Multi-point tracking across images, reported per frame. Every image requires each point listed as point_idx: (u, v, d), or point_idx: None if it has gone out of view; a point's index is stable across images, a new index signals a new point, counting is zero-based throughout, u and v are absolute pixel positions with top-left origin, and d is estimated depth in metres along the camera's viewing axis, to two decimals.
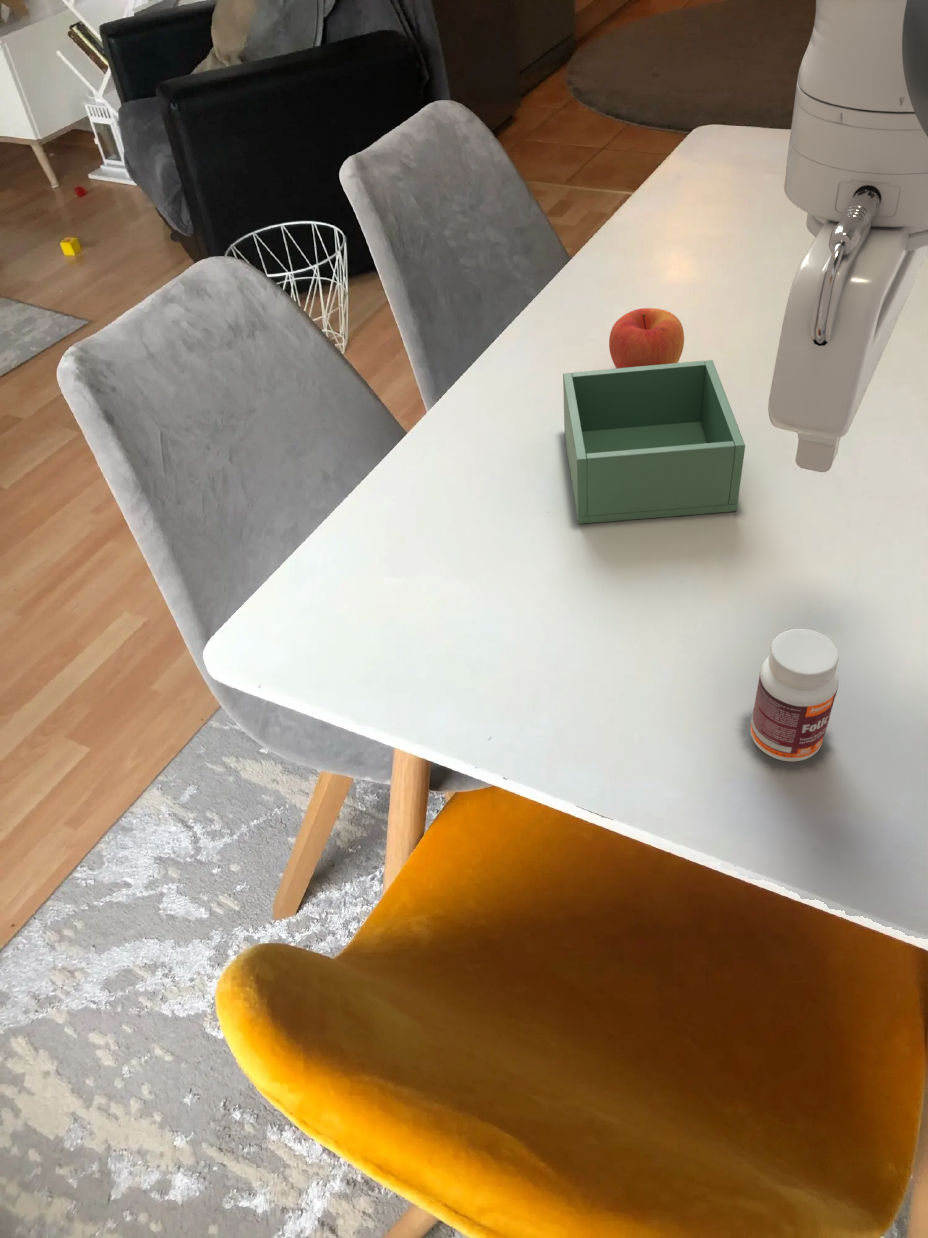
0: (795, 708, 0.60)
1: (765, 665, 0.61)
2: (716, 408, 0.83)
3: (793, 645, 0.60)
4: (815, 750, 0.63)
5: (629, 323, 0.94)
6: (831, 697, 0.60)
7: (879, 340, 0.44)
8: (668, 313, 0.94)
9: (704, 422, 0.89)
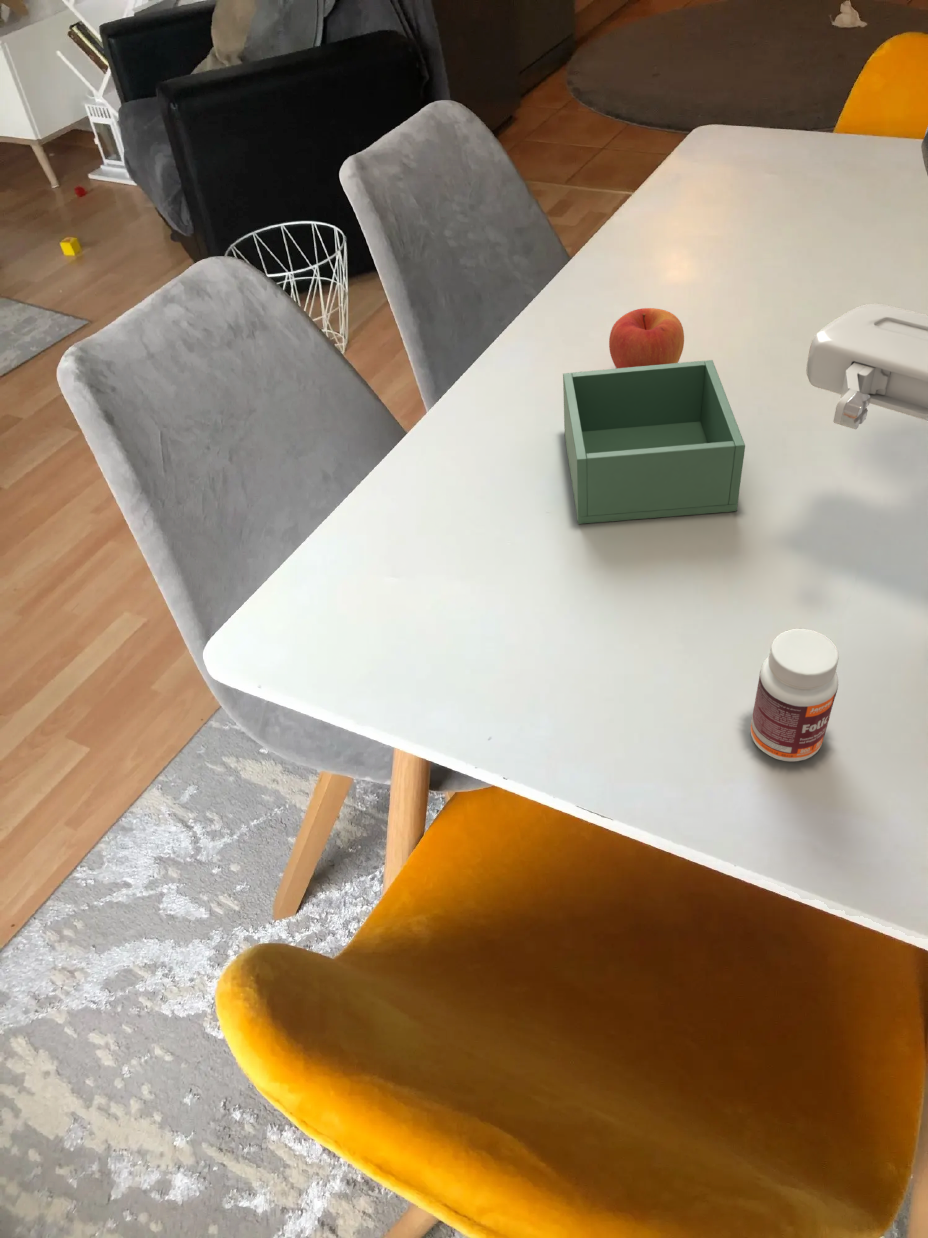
0: (795, 708, 0.60)
1: (765, 665, 0.61)
2: (716, 408, 0.83)
3: (793, 645, 0.60)
4: (815, 750, 0.63)
5: (629, 323, 0.94)
6: (831, 697, 0.60)
7: (897, 340, 0.64)
8: (668, 313, 0.94)
9: (704, 422, 0.89)
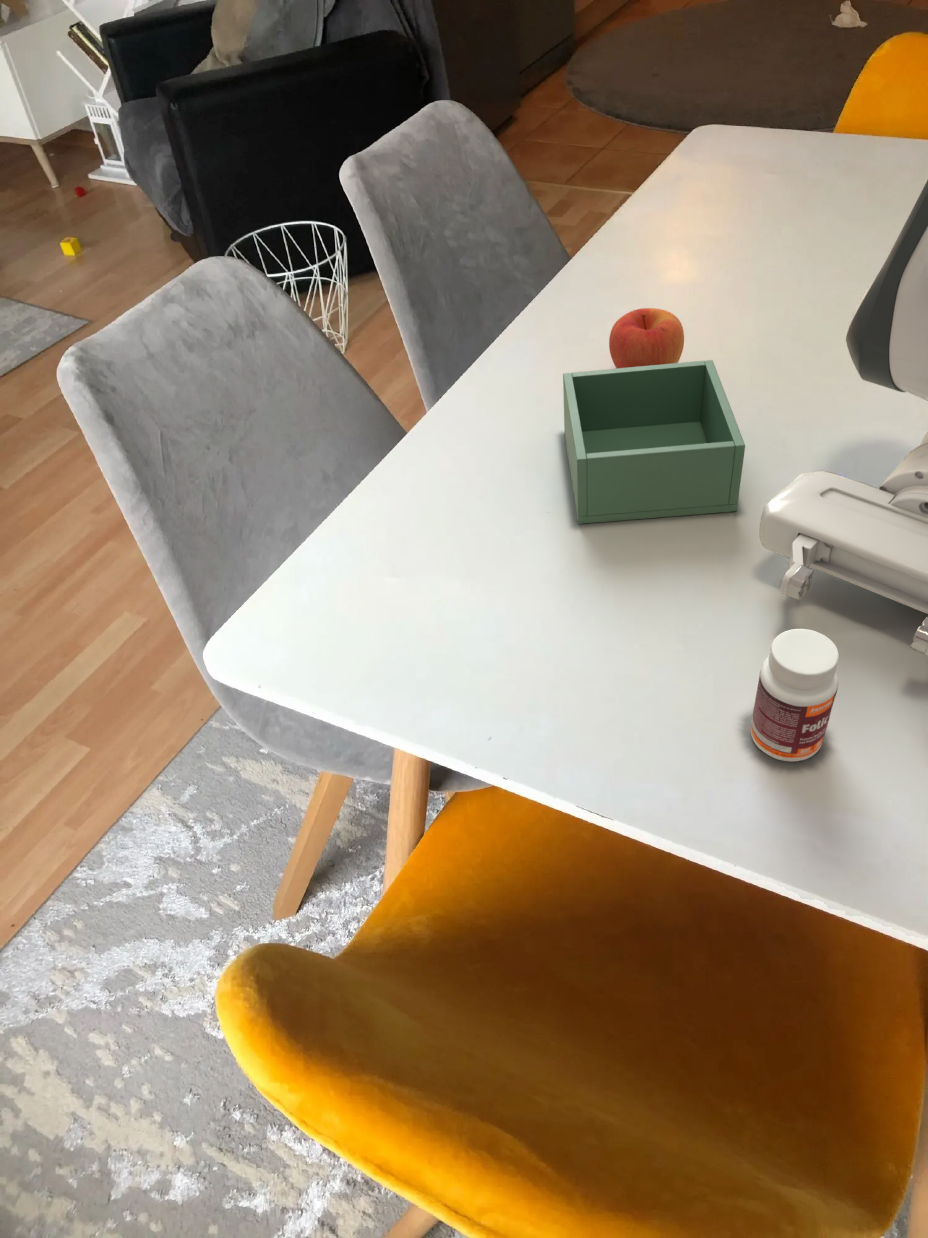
0: (795, 708, 0.60)
1: (765, 665, 0.61)
2: (716, 408, 0.83)
3: (793, 645, 0.60)
4: (815, 750, 0.63)
5: (629, 323, 0.94)
6: (831, 697, 0.60)
7: (839, 514, 0.70)
8: (668, 313, 0.94)
9: (704, 422, 0.89)
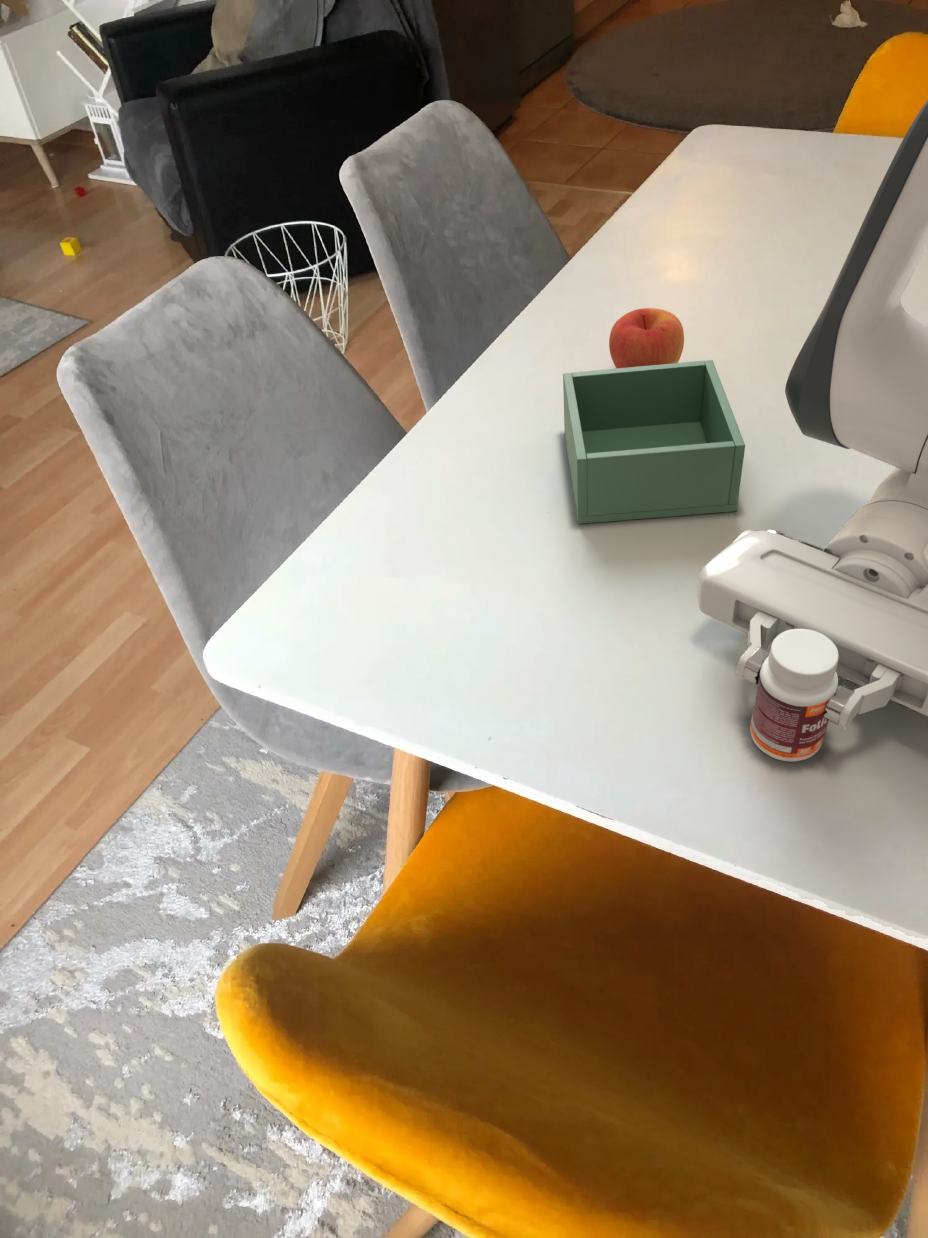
0: (795, 708, 0.60)
1: (765, 665, 0.61)
2: (716, 408, 0.83)
3: (793, 645, 0.60)
4: (814, 750, 0.63)
5: (629, 323, 0.94)
6: None
7: (779, 580, 0.66)
8: (668, 313, 0.94)
9: (704, 422, 0.89)
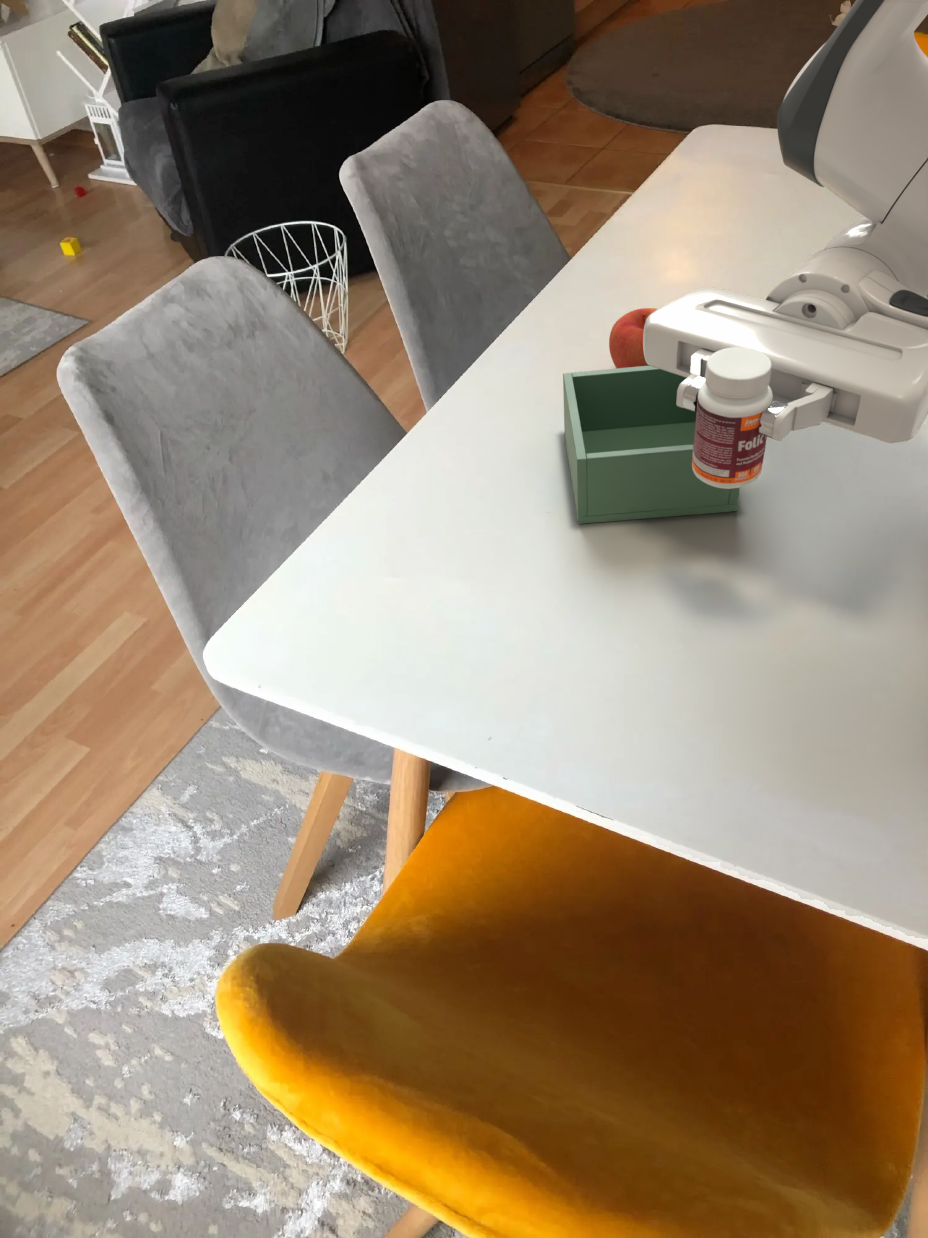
0: (730, 420, 0.61)
1: (702, 385, 0.63)
2: None
3: (728, 359, 0.61)
4: (753, 476, 0.65)
5: (629, 323, 0.94)
6: (765, 409, 0.61)
7: (720, 321, 0.68)
8: None
9: None
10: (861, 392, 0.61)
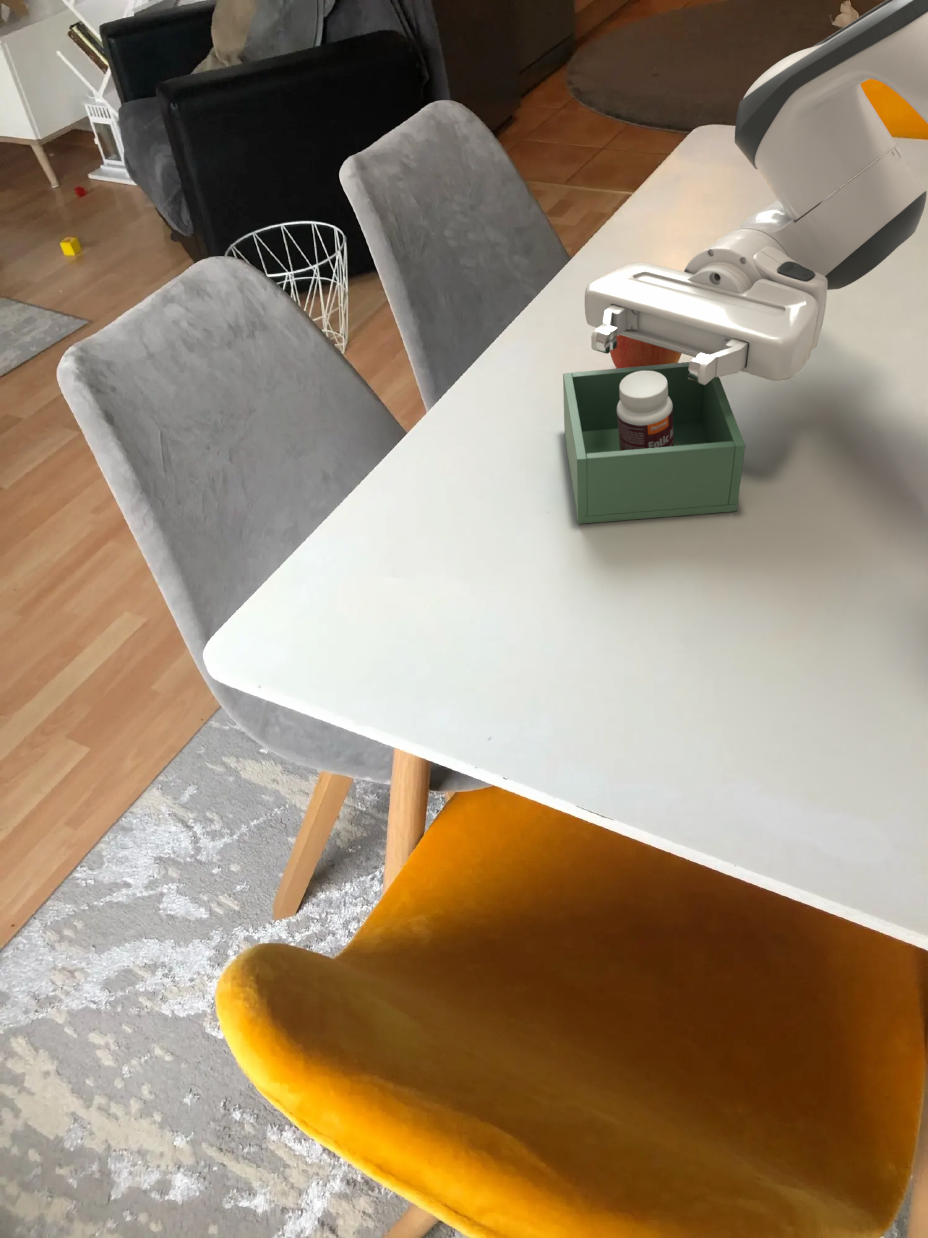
0: (639, 427, 0.81)
1: (619, 401, 0.83)
2: (716, 408, 0.83)
3: (635, 381, 0.81)
4: None
5: None
6: (665, 417, 0.81)
7: (645, 287, 0.84)
8: None
9: (704, 422, 0.89)
10: (749, 339, 0.76)
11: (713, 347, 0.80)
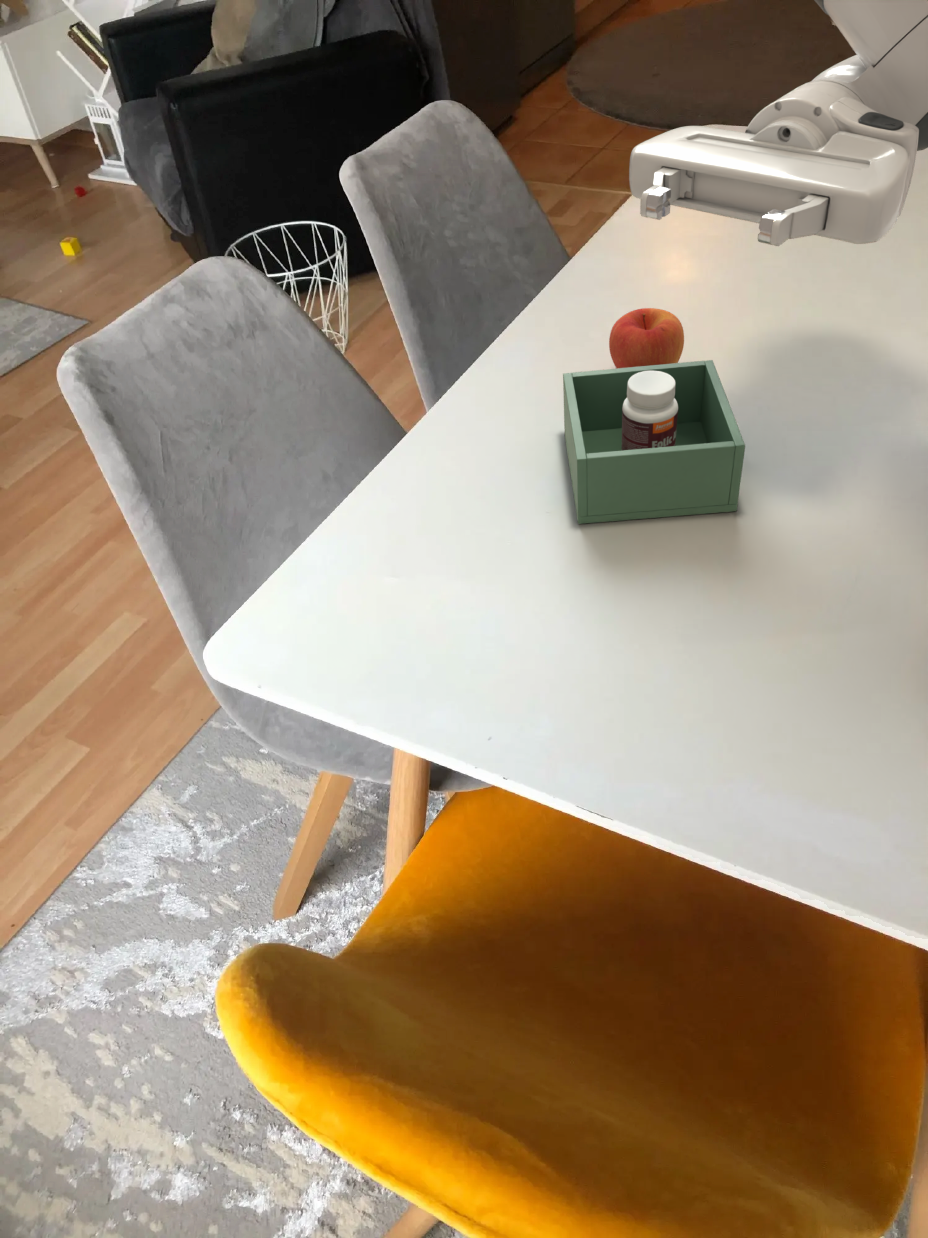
0: (645, 425, 0.81)
1: (625, 399, 0.83)
2: (716, 408, 0.83)
3: (643, 379, 0.81)
4: None
5: (629, 323, 0.94)
6: (671, 417, 0.81)
7: (701, 147, 0.72)
8: (668, 313, 0.94)
9: (704, 422, 0.89)
10: (830, 193, 0.65)
11: (784, 209, 0.68)
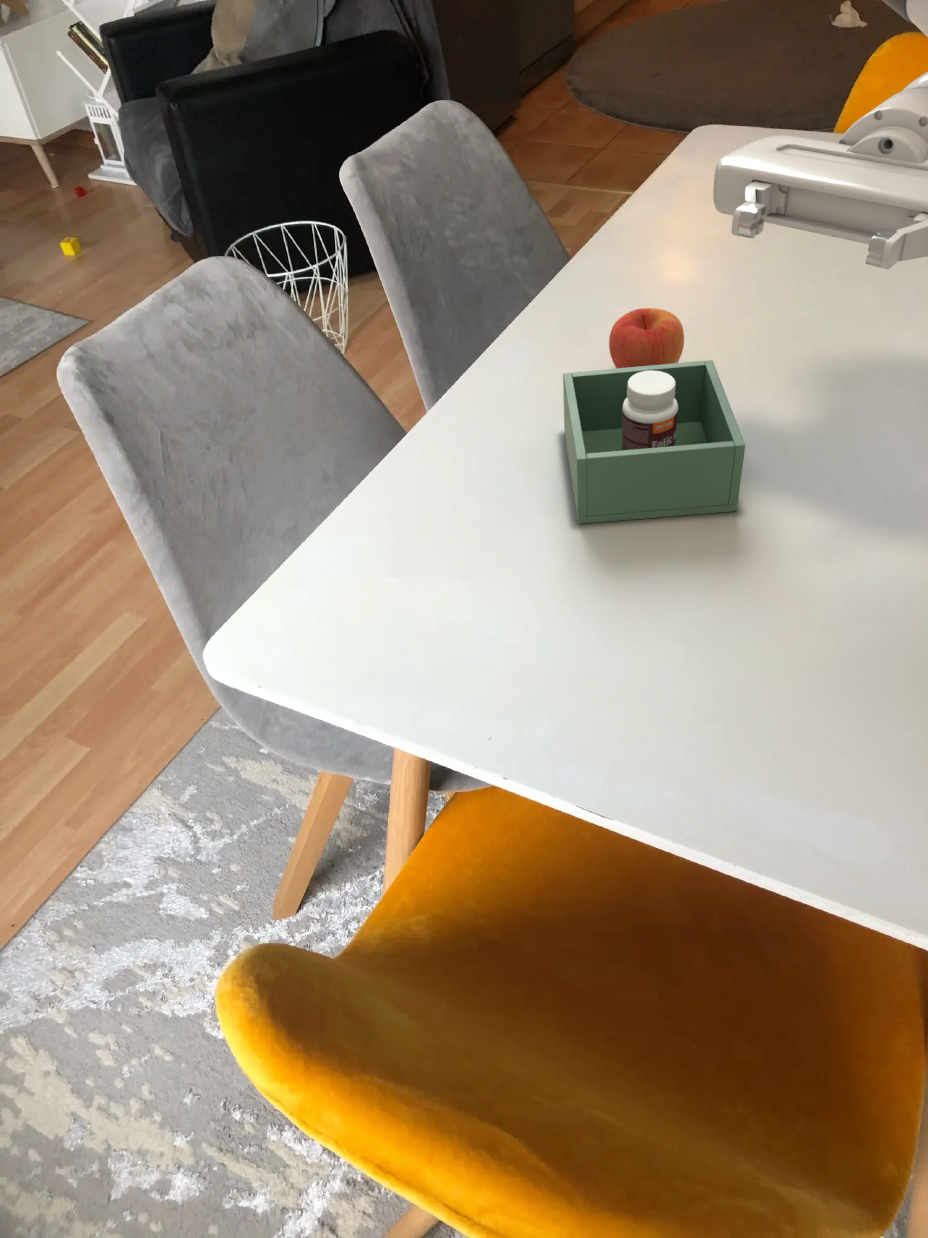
0: (645, 425, 0.81)
1: (625, 399, 0.83)
2: (716, 408, 0.83)
3: (643, 379, 0.81)
4: None
5: (629, 323, 0.94)
6: (671, 417, 0.81)
7: (795, 160, 0.67)
8: (668, 313, 0.94)
9: (704, 422, 0.89)
10: None
11: (889, 228, 0.64)
